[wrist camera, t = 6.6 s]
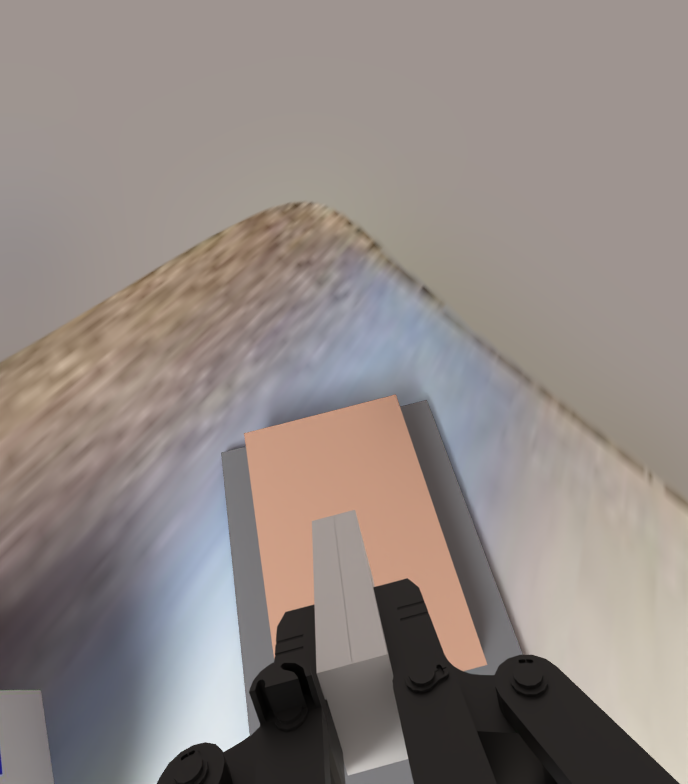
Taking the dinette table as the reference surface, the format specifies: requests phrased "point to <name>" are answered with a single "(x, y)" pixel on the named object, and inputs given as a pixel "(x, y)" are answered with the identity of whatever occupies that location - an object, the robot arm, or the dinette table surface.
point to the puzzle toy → (23, 739)
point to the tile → (373, 509)
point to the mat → (460, 538)
